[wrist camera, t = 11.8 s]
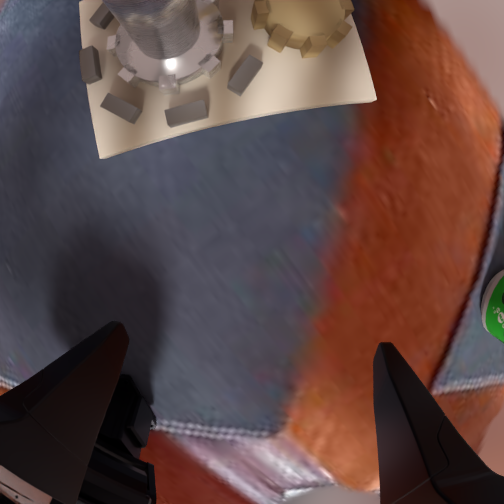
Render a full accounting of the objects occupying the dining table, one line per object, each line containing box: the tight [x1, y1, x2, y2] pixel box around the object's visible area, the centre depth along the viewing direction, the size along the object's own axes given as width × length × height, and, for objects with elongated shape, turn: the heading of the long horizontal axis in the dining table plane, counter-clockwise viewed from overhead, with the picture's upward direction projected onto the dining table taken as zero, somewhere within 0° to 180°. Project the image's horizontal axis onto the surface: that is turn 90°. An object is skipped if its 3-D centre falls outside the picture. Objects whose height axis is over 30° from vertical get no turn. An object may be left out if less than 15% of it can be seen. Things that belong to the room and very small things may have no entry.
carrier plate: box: [79, 0, 377, 159], centre depth 16 cm, size 19×13×4 cm
